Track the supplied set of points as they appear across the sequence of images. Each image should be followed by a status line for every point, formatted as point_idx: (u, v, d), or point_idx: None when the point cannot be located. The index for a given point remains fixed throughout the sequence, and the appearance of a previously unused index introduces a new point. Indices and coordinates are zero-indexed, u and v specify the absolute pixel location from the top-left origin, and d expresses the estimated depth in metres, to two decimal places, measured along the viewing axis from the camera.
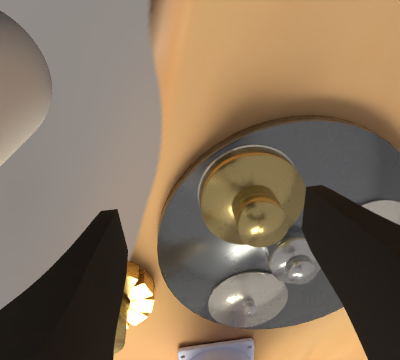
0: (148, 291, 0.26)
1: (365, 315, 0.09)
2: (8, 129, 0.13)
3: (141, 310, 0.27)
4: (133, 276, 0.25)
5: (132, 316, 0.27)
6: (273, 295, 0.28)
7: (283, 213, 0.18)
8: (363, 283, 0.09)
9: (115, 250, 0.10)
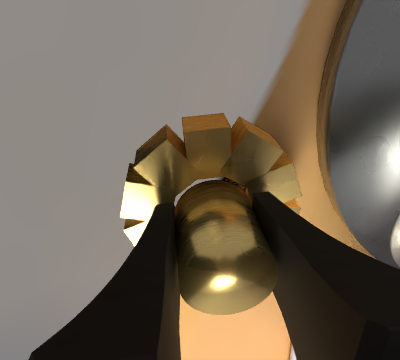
0: (295, 185, 0.12)
1: (295, 325, 0.09)
2: None
3: None
4: (273, 144, 0.11)
5: None
6: None
7: None
8: (293, 292, 0.09)
9: (175, 242, 0.11)
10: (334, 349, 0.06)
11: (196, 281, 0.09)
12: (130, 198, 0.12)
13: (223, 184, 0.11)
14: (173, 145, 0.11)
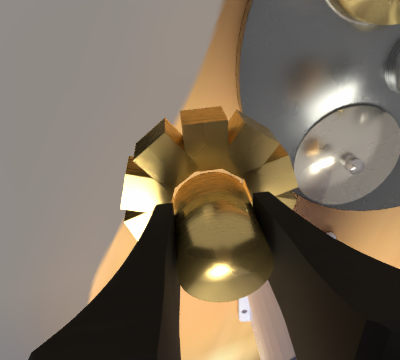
0: (292, 177, 0.12)
1: (295, 325, 0.09)
2: None
3: None
4: (269, 137, 0.12)
5: None
6: (381, 150, 0.21)
7: None
8: (293, 292, 0.09)
9: (175, 242, 0.11)
10: (334, 349, 0.06)
11: (195, 270, 0.10)
12: (130, 189, 0.12)
13: (220, 176, 0.12)
14: (171, 138, 0.11)
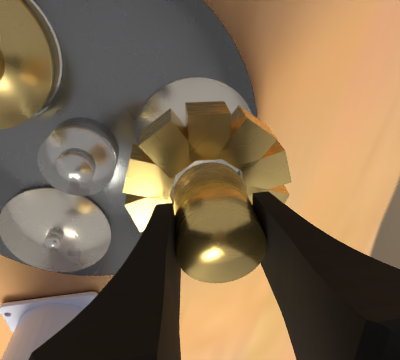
0: (286, 172, 0.13)
1: (295, 325, 0.09)
2: None
3: None
4: (268, 132, 0.12)
5: None
6: (88, 225, 0.21)
7: None
8: (293, 292, 0.09)
9: (175, 242, 0.11)
10: (333, 349, 0.06)
11: (193, 249, 0.10)
12: (133, 174, 0.13)
13: (220, 166, 0.12)
14: (176, 127, 0.12)
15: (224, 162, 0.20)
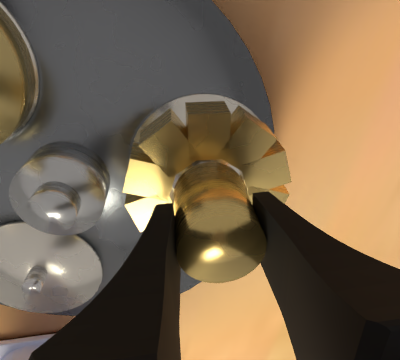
0: (286, 172, 0.13)
1: (295, 325, 0.09)
2: None
3: None
4: (268, 132, 0.12)
5: None
6: (75, 262, 0.18)
7: None
8: (293, 292, 0.09)
9: (175, 242, 0.11)
10: (334, 349, 0.06)
11: (193, 249, 0.10)
12: (133, 174, 0.13)
13: (220, 166, 0.12)
14: (176, 126, 0.12)
15: None
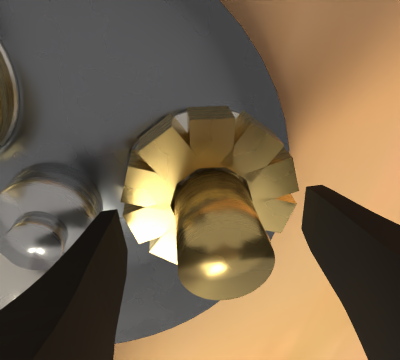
0: (293, 180, 0.12)
1: (365, 315, 0.09)
2: None
3: (265, 226, 0.14)
4: (274, 138, 0.12)
5: None
6: None
7: None
8: (363, 283, 0.09)
9: (115, 249, 0.10)
10: None
11: (195, 265, 0.09)
12: (132, 182, 0.12)
13: (224, 174, 0.12)
14: (177, 132, 0.11)
15: None
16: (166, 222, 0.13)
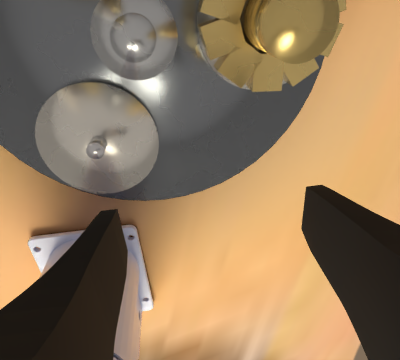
0: None
1: (365, 315, 0.09)
2: None
3: None
4: None
5: None
6: (135, 133, 0.19)
7: None
8: (363, 283, 0.09)
9: (115, 250, 0.10)
10: None
11: (277, 18, 0.12)
12: None
13: None
14: None
15: None
16: (235, 37, 0.15)
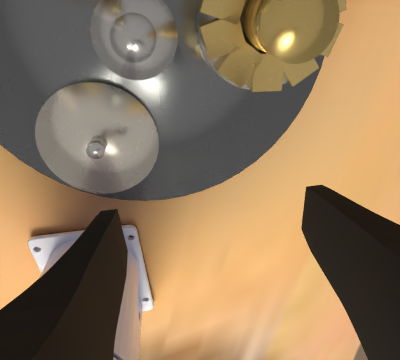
0: None
1: (365, 315, 0.09)
2: None
3: None
4: None
5: None
6: (135, 133, 0.19)
7: None
8: (363, 283, 0.09)
9: (115, 250, 0.10)
10: None
11: (277, 18, 0.12)
12: None
13: None
14: None
15: None
16: (235, 37, 0.15)
